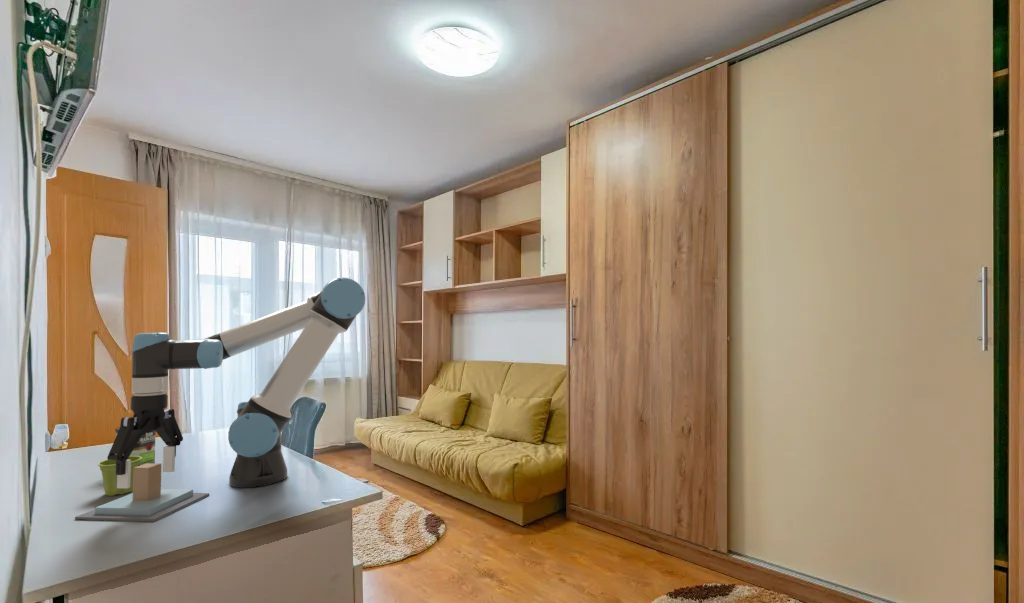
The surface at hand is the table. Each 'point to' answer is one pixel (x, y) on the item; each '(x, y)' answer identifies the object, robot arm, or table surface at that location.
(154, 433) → the coffee can
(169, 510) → the mat
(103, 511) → the cover lid
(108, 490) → the plant pot
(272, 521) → the table surface
